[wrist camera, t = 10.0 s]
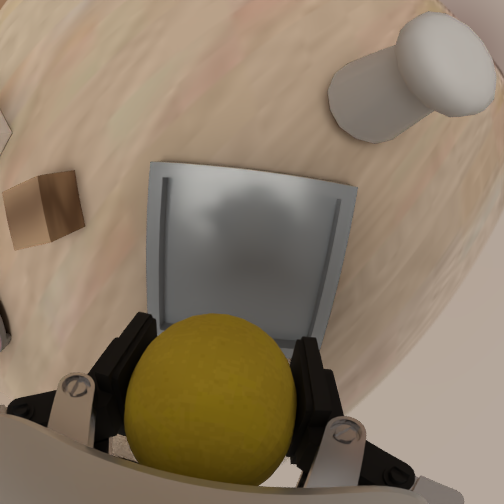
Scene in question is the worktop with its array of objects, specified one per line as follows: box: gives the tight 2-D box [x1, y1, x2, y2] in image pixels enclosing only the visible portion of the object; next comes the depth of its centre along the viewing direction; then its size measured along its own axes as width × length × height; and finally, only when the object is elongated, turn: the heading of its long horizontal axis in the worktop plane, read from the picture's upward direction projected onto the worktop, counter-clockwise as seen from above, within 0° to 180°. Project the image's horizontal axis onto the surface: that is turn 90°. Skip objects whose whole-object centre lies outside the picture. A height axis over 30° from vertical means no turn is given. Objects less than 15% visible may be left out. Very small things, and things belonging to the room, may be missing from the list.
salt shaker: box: [328, 11, 496, 144], centre depth 12 cm, size 6×6×13 cm
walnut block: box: [2, 170, 85, 251], centre depth 19 cm, size 5×5×5 cm
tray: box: [146, 161, 358, 359], centre depth 21 cm, size 14×14×2 cm
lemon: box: [124, 313, 297, 486], centre depth 9 cm, size 6×6×8 cm
